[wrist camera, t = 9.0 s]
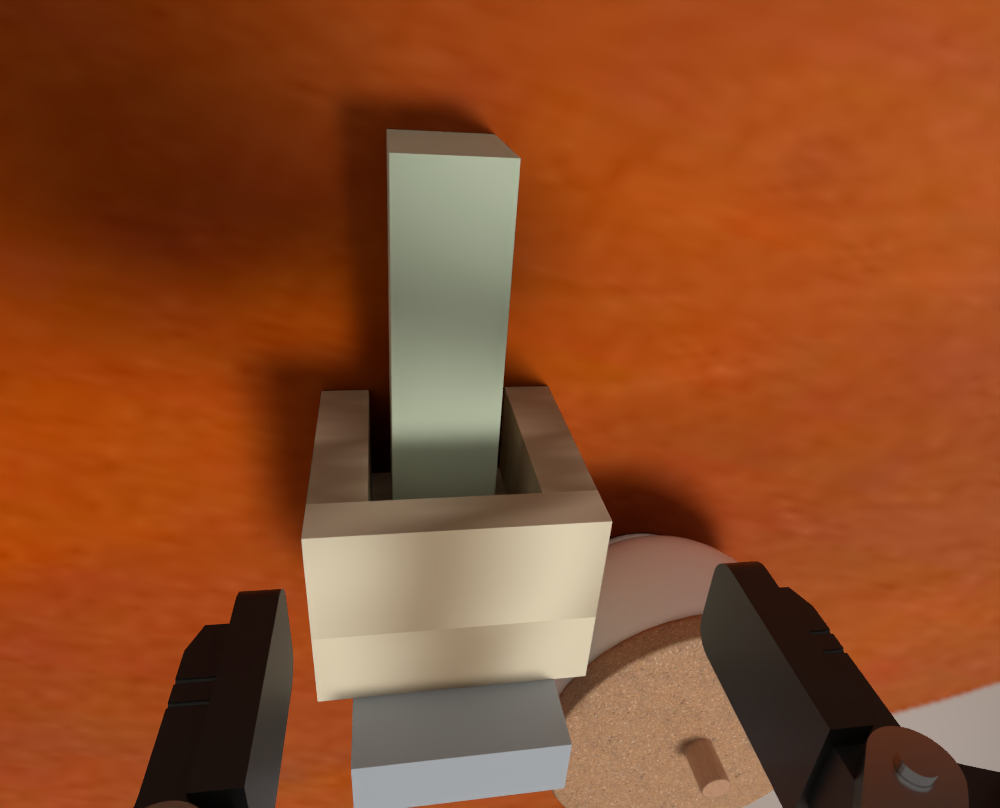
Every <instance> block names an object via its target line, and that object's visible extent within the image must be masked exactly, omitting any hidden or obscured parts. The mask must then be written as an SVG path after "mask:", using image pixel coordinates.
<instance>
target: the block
mask: <svg viewBox="0 0 1000 808" xmlns="http://www.w3.org/2000/svg"><path fill="white" fill-rule="evenodd" d="M611 527H612V519H611V517H610V515H609V513H608V511H607V509H606V507H605V505H604V503H603V501H602V498H601V496H600V494H599V492H598V490H597V488H596V486H595V484H594V482H593V480H592V477H591V475H590V473H589V471H588V469H587V467H586V465H585V463H584V461H583V459H582V456H581V454H580V452H579V450H578V448H577V446H576V444H575V442H574V440H573V438H572V435H571V433H570V431H569V429H568V427H567V425H566V423H565V421H564V419H563V417H562V414H561V412H560V410H559V408H558V406H557V404H556V402H555V400H554V398H553V396H552V393H551V391H550V389H549V387H548V386H528V387H505V389H504V404H503V418H502V432H501V446H500V460H499V468H497V473H496V486H495V495H488V496H468V497H447V498H427V499H406V500H392V497H391V472H387V473H372V463H371V435H370V408H369V390H344V391H321V398H320V406H319V413H318V420H317V427H316V435H315V442H314V449H313V457H312V464H311V471H310V478H309V486H308V493H307V500H306V507H305V515H304V522H303V529H302V537H301V542H302V552H303V562H304V572H305V581H306V591H307V601H308V611H309V620H310V630H311V640H312V650H313V660H314V669H315V679H316V689H317V699H318V701H328V700H339V699H349V698H360V697H370V696H381V695H391V694H402V693H412V692H423V691H433V690H444V689H454V688H464V687H475V686H485V685H496V684H506V683H517V682H527V681H538V680H548V679H559V678H569V677H580V676H586V670H587V665H588V659H589V653H590V647H591V642H592V636H593V630H594V624H595V619H596V613H597V607H598V601H599V596H600V590H601V584H602V578H603V573H604V567H605V561H606V555H607V550H608V544H609V538H610V532H611Z"/></svg>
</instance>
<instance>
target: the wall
mask: <svg viewBox="0 0 1000 808" xmlns="http://www.w3.org/2000/svg"><path fill="white" fill-rule="evenodd" d="M571 747H572V743H571V739H570V736H569V732H568V728H567V725H566V721H565V717H564V714H563V710H562V707H561V703H560V699H559V696H558V692H557V688H556V685H555V681H554V679H548V680H538V681H527V682H517V683H506V684H496V685H485V686H475V687H464V688H454V689H444V690H433V691H423V692H412V693H402V694H391V695H381V696H370V697H360V698H353V723H352V758H351V774H352V788H353V801H354V808H408V807H416V806H424V805H432V804H440V803H448V802H456V801H465V800H473V799H481V798H489V797H497V796H505V795H513V794H521V793H529V792H538V791H546V790H554V789H562V788H565V782H566V776H567V770H568V764H569V759H570V753H571Z"/></svg>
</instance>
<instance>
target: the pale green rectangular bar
mask: <svg viewBox="0 0 1000 808" xmlns="http://www.w3.org/2000/svg"><path fill="white" fill-rule="evenodd" d="M386 131H387V214H388V298H389V381H390V464H391V497H392V500H406V499H427V498H447V497H468V496H488V495H495V486H496V473H497V460H498V447H499V434H500V421H501V408H502V395H503V382H504V369H505V356H506V343H507V330H508V317H509V304H510V290H511V277H512V264H513V251H514V238H515V225H516V212H517V199H518V186H519V173H520V160H521V158H520V157H519V156H518V155H516V154H515V153H514V152H513V151H512V150H511V149H510V148H509V147H508V146H507V145H506V144H505V143H504V142H503V141H502V140H501V139H500V138H499V137H497V136H496V135H495V134H480V133H460V132H439V131H419V130H398V129H386Z"/></svg>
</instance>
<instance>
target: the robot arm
mask: <svg viewBox="0 0 1000 808" xmlns="http://www.w3.org/2000/svg"><path fill="white" fill-rule="evenodd" d="M700 633H701V640H702V645H703V648H704V651H705V654H706V656H707V658H708V660H709V662H710V664H711V666H712V668H713V670H714V672H715V674H716V676H717V678H718V680H719V682H720V684H721V686H722V688H723V690H724V692H725V694H726V696H727V698H728V700H729V702H730V704H731V706H732V708H733V710H734V711H735V713H736V715H737V717H738V719H739V721H740V723H741V725H742V727H743V729H744V731H745V733H746V735H747V737H748V739H749V741H750V743H751V745H752V747H753V749H754V751H755V753H756V755H757V757H758V759H759V761H760V763H761V765H762V767H763V769H764V771H765V773H766V775H767V777H768V779H769V781H770V783H771V785H772V787H773V789H774V791H775V793H776V795H777V797H778V799H779V801H780V803H781V805H782V807H783V808H1000V772H996V771H990V770H986V769H981V768H976V767H972V766H967V765H963V764H958V763H956V761H955V760H954V759H953V758H952V757H951V755H950V754H949V753H948V752H947V751H946V750H944V749H943V748H942V747H941V746H940V745H938V744H937V743H936V742H934V741H933V740H931V739H930V738H928V737H926V736H924V735H923V734H921V733H919V732H916V731H914V730H911V729H908V728H904V727H900V725H899V724H898V723H897V721H896V720H895V719H894V717H893V716H892V714H891V713H890V712H889V710H888V709H887V707H886V706H885V705H884V703H883V702H882V701H881V699H880V698H879V696H878V695H877V694H876V692H875V691H874V690H873V688H872V687H871V685H870V684H869V683H868V681H867V680H866V679H865V677H864V676H863V674H862V673H861V672H860V670H859V669H858V668H857V666H856V665H855V663H854V662H853V661H852V659H851V658H850V657H849V655H848V654H847V653H844V651H843V647H842V646H841V644H840V643H839V641H838V640H837V639H836V637H835V636H834V635H833V634H830V629H829V628H828V626H827V625H826V623H825V622H824V621H823V619H822V618H821V617H820V615H819V614H818V612H817V611H816V610H815V608H814V607H813V606H812V605H811V604H809V603H808V602H807V601H806V600H804V599H803V598H802V597H800V596H799V595H798V594H797V593H795V592H794V591H793V590H792V589H790V588H789V587H783V588H779V587H778V585H777V584H776V582H775V581H774V579H773V578H772V576H771V575H770V574H769V572H768V571H767V569H766V568H765V567H764V565H762V564H761V563H760V562H757V561H754V562H738V563H722V564H719V565H717V566H716V568H715V570H714V573H713V577H712V581H711V585H710V588H709V592H708V596H707V599H706V603H705V607H704V611H703V614H702V618H701V624H700ZM175 680H176V682H175V685H173V688H172V691H171V695H170V698H169V701H168V708H167V709H166V710H165V714H164V717H163V720H162V723H161V726H160V729H159V732H158V736H157V739H156V742H155V745H154V748H153V751H152V754H151V758H150V761H149V764H148V767H147V770H146V773H145V776H144V780H143V783H142V786H141V789H140V792H139V795H138V798H137V801H136V803H135V806H134V808H275V803H276V796H277V789H278V782H279V775H280V768H281V760H282V753H283V746H284V739H285V732H286V725H287V718H288V710H289V703H290V696H291V689H292V680H293V649H292V641H291V634H290V626H289V618H288V611H287V603H286V596H285V592H284V590H283V589H275V590H259V591H242V592H239V593H238V595H237V597H236V600H235V604H234V608H233V612H232V616H231V620H230V624H217V625H205V626H204V627H203V629H202V630H201V631H200V632H199V634H198V635H197V636H196V637H195V638H194V640H193V641H192V642H191V643H190V645H189V646H188V647H187V648H186V649H185V651H184V654H183V657H182V660H181V663H180V666H179V669H178V673H177V676H176V679H175Z"/></svg>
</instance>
